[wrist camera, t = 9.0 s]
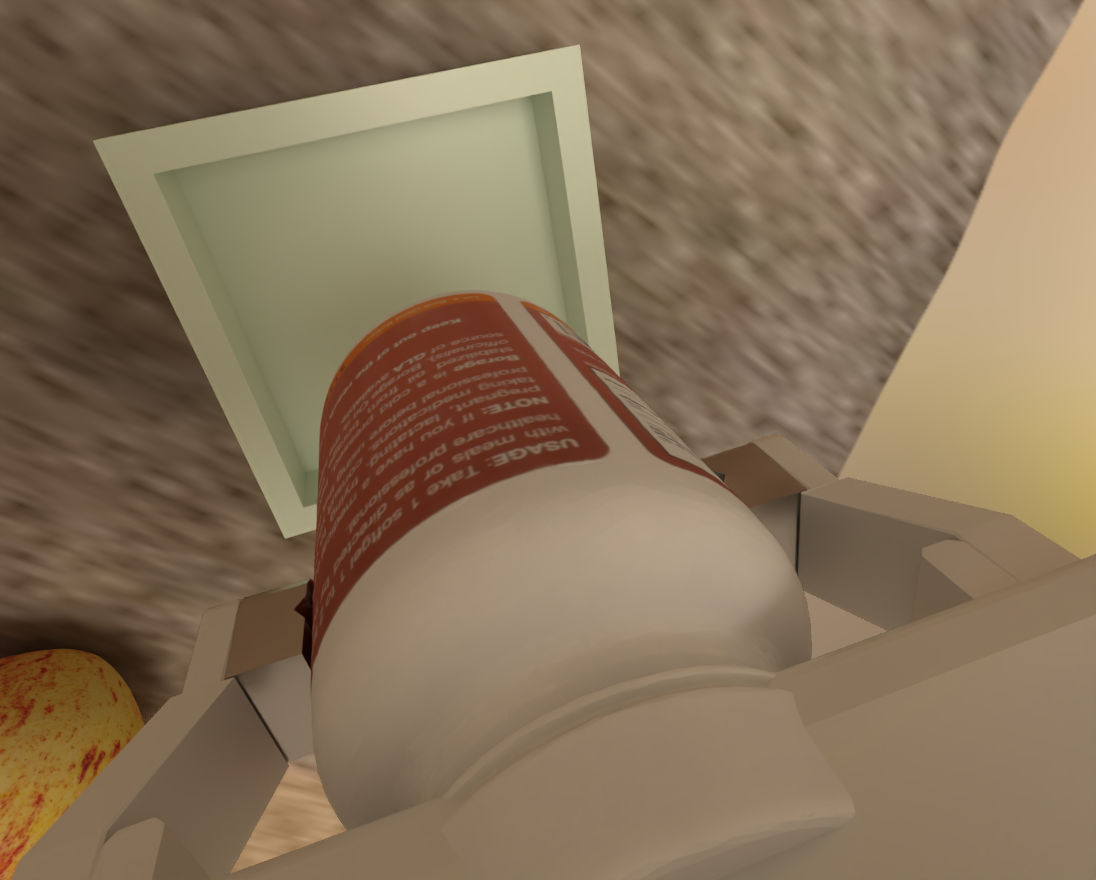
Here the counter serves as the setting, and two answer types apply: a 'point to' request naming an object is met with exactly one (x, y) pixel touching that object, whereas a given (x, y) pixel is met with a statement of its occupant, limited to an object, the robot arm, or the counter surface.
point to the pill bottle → (548, 613)
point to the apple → (55, 739)
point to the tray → (362, 232)
